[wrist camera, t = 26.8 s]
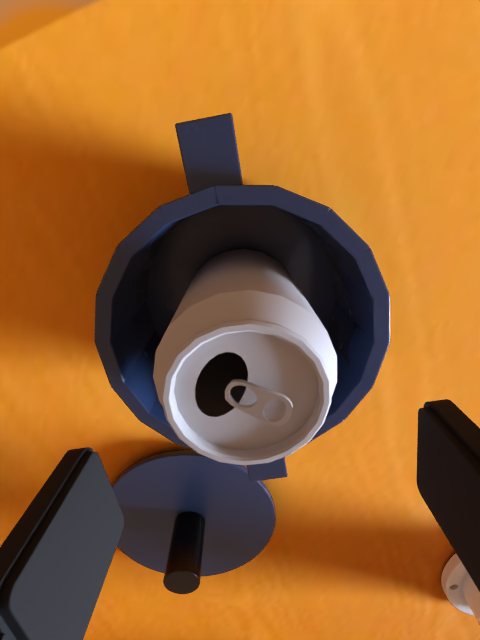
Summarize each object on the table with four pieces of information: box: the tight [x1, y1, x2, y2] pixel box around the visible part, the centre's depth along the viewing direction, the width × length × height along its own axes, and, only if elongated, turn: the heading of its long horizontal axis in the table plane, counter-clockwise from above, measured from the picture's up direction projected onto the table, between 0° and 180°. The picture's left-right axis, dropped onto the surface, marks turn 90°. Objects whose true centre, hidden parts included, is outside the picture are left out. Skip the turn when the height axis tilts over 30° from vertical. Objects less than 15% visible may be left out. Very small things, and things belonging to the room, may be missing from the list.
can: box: [153, 249, 337, 465], centre depth 17 cm, size 8×8×12 cm
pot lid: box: [112, 450, 275, 594], centre depth 28 cm, size 16×16×6 cm
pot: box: [95, 113, 390, 482], centre depth 20 cm, size 15×20×8 cm
